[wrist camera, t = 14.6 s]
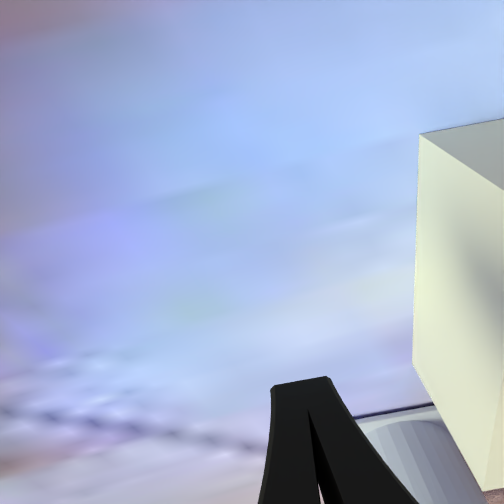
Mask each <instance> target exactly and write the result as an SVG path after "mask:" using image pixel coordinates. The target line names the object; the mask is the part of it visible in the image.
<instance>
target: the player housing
mask: <svg viewBox="0 0 504 504" xmlns="http://www.w3.org/2000/svg"><path fill="white" fill-rule="evenodd" d="M412 364H413V366H414V368H415V370H416V372H417V373H418V375H419V377H420V379H421V381H422V383H423V384H424V386H425V388H426V390H427V392H428V393H429V395H430V397H431V399H432V401H433V403H434V404H435V406H436V408H437V410H438V412H439V413H440V415H441V417H442V419H443V421H444V422H445V424H446V426H447V428H448V430H449V432H450V433H451V435H452V437H453V439H454V441H455V442H456V444H457V446H458V448H459V450H460V451H461V453H462V455H463V457H464V459H465V461H466V462H467V464H468V466H469V468H470V470H471V471H472V473H473V475H474V477H475V479H476V480H477V482H478V484H479V486H480V488H481V490H482V491H488V490H494V489H499V488H504V119H499V120H494V121H489V122H483V123H478V124H472V125H467V126H461V127H456V128H450V129H445V130H440V131H434V132H429V133H423V134H419V159H418V191H417V223H416V255H415V287H414V319H413V351H412Z"/></svg>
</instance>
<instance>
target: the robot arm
mask: <svg viewBox="0 0 504 504" xmlns="http://www.w3.org/2000/svg"><path fill="white" fill-rule="evenodd" d="M270 393H271V421H270V432H269V442H268V449H267V456H266V462H265V469H264V475H263V481H262V486H261V490H260V495H259V500H258V504H321V502H320V495H319V487H320V490H321V494H322V497H323V500H324V503H325V504H488V502H487V500H486V499H485V497H484V495H483V493H482V491H481V490H480V488H479V486H478V484H477V482H476V480H475V479H474V477H473V475H472V473H471V471H470V470H469V468H468V466H467V464H466V462H465V460H464V459H463V457H462V455H461V453H460V451H459V448H458V446H457V444H456V442H455V441H454V439H453V437H452V435H451V433H450V432H449V430H448V428H447V426H446V424H445V422H444V421H443V419H442V417H441V415H440V413H439V412H438V410H437V408H436V406H435V405H434V406H428V407H423V408H417V409H412V410H406V411H400V412H395V413H389V414H384V415H378V416H373V417H367V418H362V419H356V420H354V418H353V417H352V415H351V414H350V412H349V411H348V409H347V407H346V406H345V404H344V403H343V401H342V399H341V397H340V396H339V394H338V392H337V390H336V388H335V387H334V385H333V383H332V380H331V379H330V378H328V377H327V376H323V377H317V378H312V379H306V380H301V381H295V382H290V383H284V384H279V385H274V386H273V387H272V388H271V389H270ZM318 484H319V487H318Z"/></svg>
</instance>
